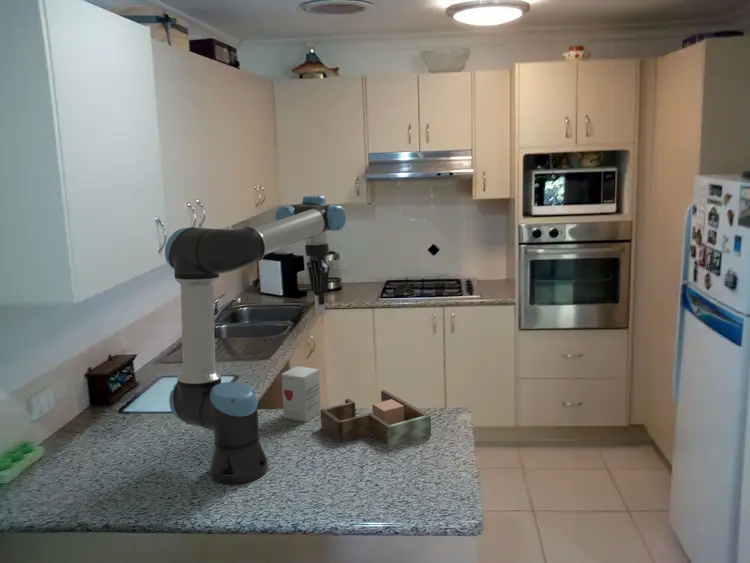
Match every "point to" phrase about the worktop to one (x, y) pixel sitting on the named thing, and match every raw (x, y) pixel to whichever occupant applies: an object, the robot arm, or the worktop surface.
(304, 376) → the supplement box
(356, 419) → the frame
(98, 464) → the worktop surface
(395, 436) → the low walled maze tray
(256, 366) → the worktop surface
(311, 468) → the worktop surface
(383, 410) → the block
